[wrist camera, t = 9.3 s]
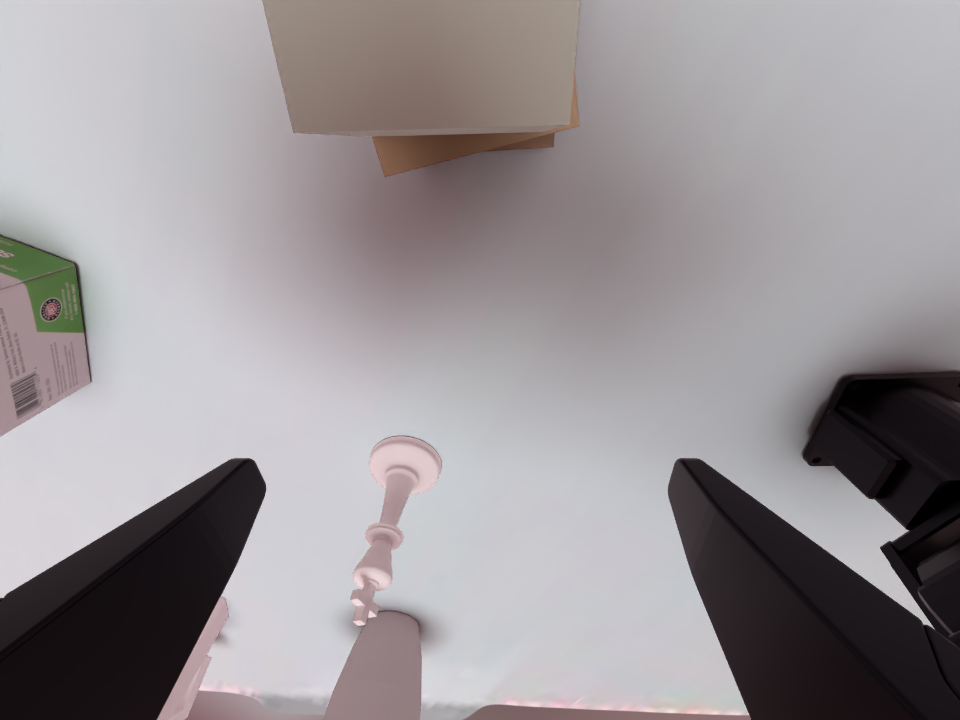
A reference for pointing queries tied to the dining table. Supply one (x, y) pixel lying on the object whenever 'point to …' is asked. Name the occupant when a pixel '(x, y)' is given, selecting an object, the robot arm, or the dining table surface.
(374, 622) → the cup
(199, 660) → the mug
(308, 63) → the cube
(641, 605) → the dining table surface
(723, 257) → the dining table surface
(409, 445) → the chess piece
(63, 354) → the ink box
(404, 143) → the tower top
